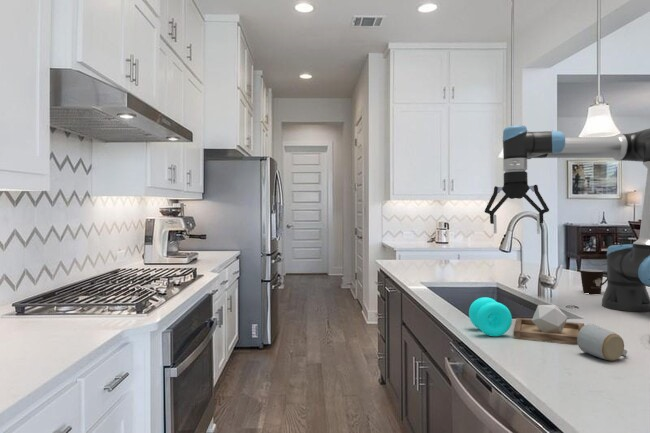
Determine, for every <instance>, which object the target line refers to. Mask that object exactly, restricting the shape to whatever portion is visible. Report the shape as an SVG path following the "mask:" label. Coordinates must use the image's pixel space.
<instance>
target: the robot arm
mask: <svg viewBox="0 0 650 433" xmlns="http://www.w3.org/2000/svg"><path fill="white" fill-rule="evenodd" d="M502 152H503V153H502V155H503V159H502V160H503V161H502V162H503V167H502V168H503V171H504V173H503V186H502V187H501V186H496V185H495V186H494V188H493V193H492V195H491V197H490V199H489V202H488V203H487V205H486V207H485V209H484V211H483V212H484V213H485V214H487V215H489V222H490V224H491V225H493V234H494V235H495V234H497V233H498V232H497V231H498V230H497V229H498V228H497V226H498V225H497V214H495V213H496V212H497V211H498V210H499V209H500V207H501V206H502V205H503V204H504V203H505V202H506V201H507V200H508V198H509V199H510V200H514V199H518V200H519V199H523V198H524V199H525V200H526V201H527V202H528V203H529V204H530V205H531V206H532V207H533V208H534V210H536V212H538V213H537V214H536V233H537V234H539V235H540V233H541V232H540V229H541V228H540V224H544V214H546V213H548V212H550V208H549V206H548V205H547V203H546V201H545V200H544V198H543V196H542V194H541V193H540V192H539V186H538V184H534V185H529V184H528V182H529V181H528V172H527V170H528V160H531V159H570V158H571V159H573V158H574V159H583V158H584V159H592V158H593V159H598V158H599V159H601V158H603V159H611V158H612V159H614V161H619V162H621V161H623V162H624V161H628V162H639V163H640V162H642V165H643V166H644V167H645V168H646V169H647V173H646V182H645V188H644V196H643V197H644V198H643V204H642V214H641V222H640V229H639V236H638V239H637V240H636V241H633V243H632V244H611V245H609V246H608V247H607V248H606V249H607V250H606V268H607V271H606V273H607V275H606V279H607V282H606V288H605V291H604V293H603V297H602V299H601V305H602V306H603V307H604V308H607V309H612V310H617V311H625V312H650V295H649V292H648V291H647V286H650V128H647V129H646V128H645V129H643V130H640V131H639V130H638V131H636V132H629V133H618V134H617V135H615V136H603V137H602V136H586V137H585V136H584V137H583V136H581V137H580V136H579V137H578V136H577V137H573V136H572V137H571V136H570V137H568V136H567V137H566V135H565V134H564V132H563V131H561V130H560V131H559V130H545V131H528V129H527V126H526V125H510V126H507V127H505V128H504V129H503V132H502ZM529 190H531V192H532V193H534V194H535V195H536V196H535V197H536V198H537V199H538V201H539V203H540V204H541V206H542V208H543V209H542V208H540V206H539V205H537V204H536V202H534V200H533V199H532V198H531V197H530V196H529V195H528V194H527V193H528V191H529ZM502 191H503V193H504V196H503V197H502V198H501V199H500V200H499V201H498V202H497V204H495V206H494V207H493V208H492V206H493V204H494V203H495V200H496V199H497V196H498V194H500V193H501V192H502ZM491 208H492V209H491Z"/></svg>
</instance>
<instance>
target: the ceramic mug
mask: <svg viewBox="0 0 650 433" xmlns="http://www.w3.org/2000/svg"><path fill="white" fill-rule="evenodd" d="M577 343H578V345H577V346H578V349H580V350H581V351H582V352H584V353H585V354H589V355H591V356H594V357H597V358H600V359H603V360H606V361H610V362H611V361H613V362H614V361H616V360H618V359H619V358H621V356H623V357H626V356H627V354H628V350H627V349H625V342H624V339H623V338H622V336H620V335H619V334H617V333H616V332H614V331H611V330H609V329H606V328H603V327H600V326H598V325H596V324H594V323H587V324H584V326H583V327H582V328H581V329H580V331H579V333H578V337H577Z"/></svg>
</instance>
